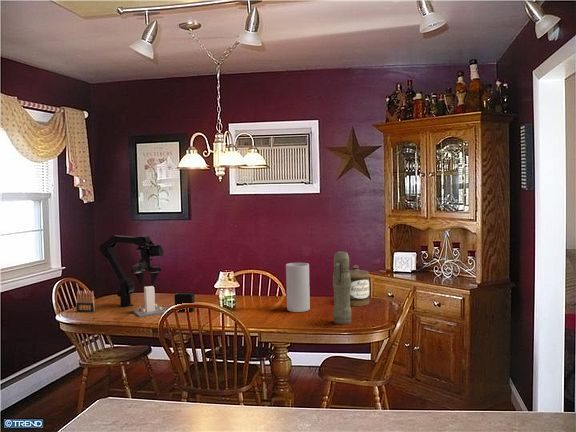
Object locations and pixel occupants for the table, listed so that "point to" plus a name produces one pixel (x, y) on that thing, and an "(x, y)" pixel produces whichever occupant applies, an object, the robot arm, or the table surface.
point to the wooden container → (359, 287)
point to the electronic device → (184, 300)
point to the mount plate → (142, 312)
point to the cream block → (149, 298)
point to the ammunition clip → (85, 302)
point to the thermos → (341, 289)
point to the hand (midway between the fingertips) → (147, 284)
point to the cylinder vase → (297, 287)
